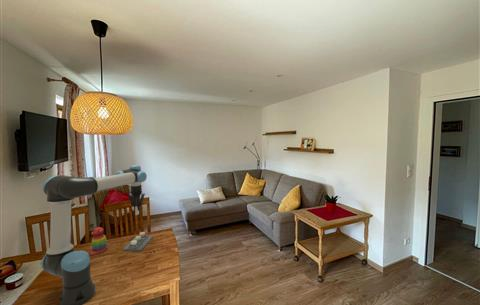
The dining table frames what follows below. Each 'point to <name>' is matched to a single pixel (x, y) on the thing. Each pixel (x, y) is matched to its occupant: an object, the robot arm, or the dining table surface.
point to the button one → (133, 242)
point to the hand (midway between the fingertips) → (137, 214)
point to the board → (138, 244)
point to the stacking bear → (98, 241)
